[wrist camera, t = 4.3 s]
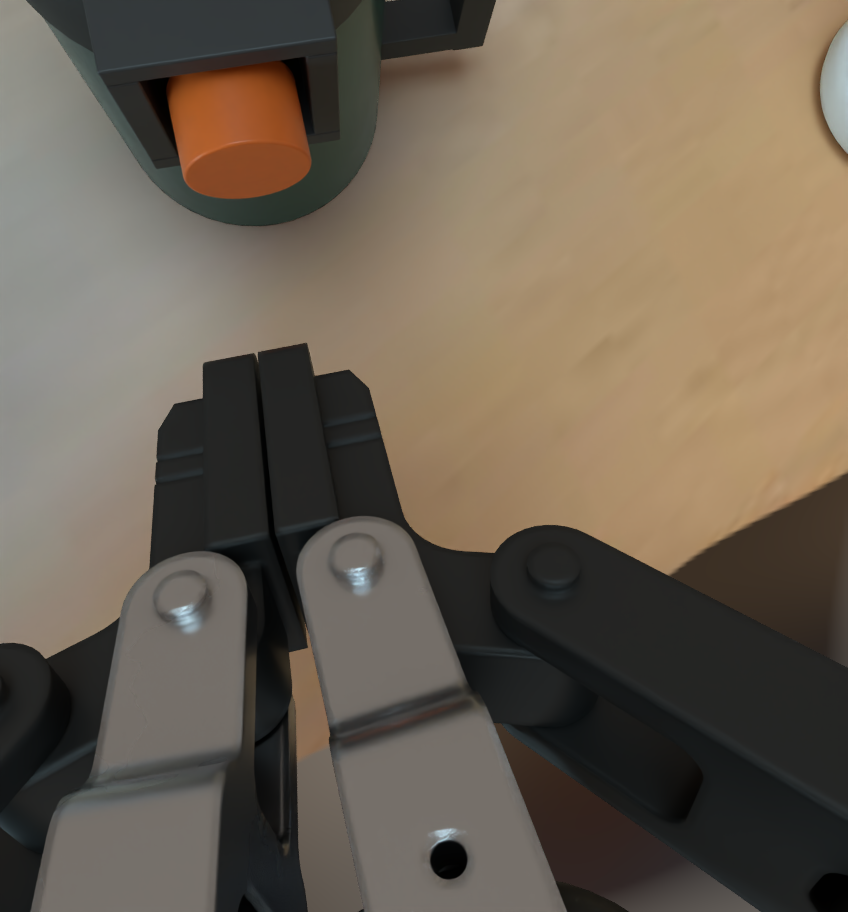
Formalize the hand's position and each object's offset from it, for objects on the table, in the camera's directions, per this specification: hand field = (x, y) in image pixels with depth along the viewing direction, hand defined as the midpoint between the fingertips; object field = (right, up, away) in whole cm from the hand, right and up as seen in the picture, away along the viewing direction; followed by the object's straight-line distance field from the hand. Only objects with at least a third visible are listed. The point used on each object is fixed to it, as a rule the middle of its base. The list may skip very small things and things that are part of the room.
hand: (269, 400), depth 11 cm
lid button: (-3, +8, +10) cm, 13 cm away
